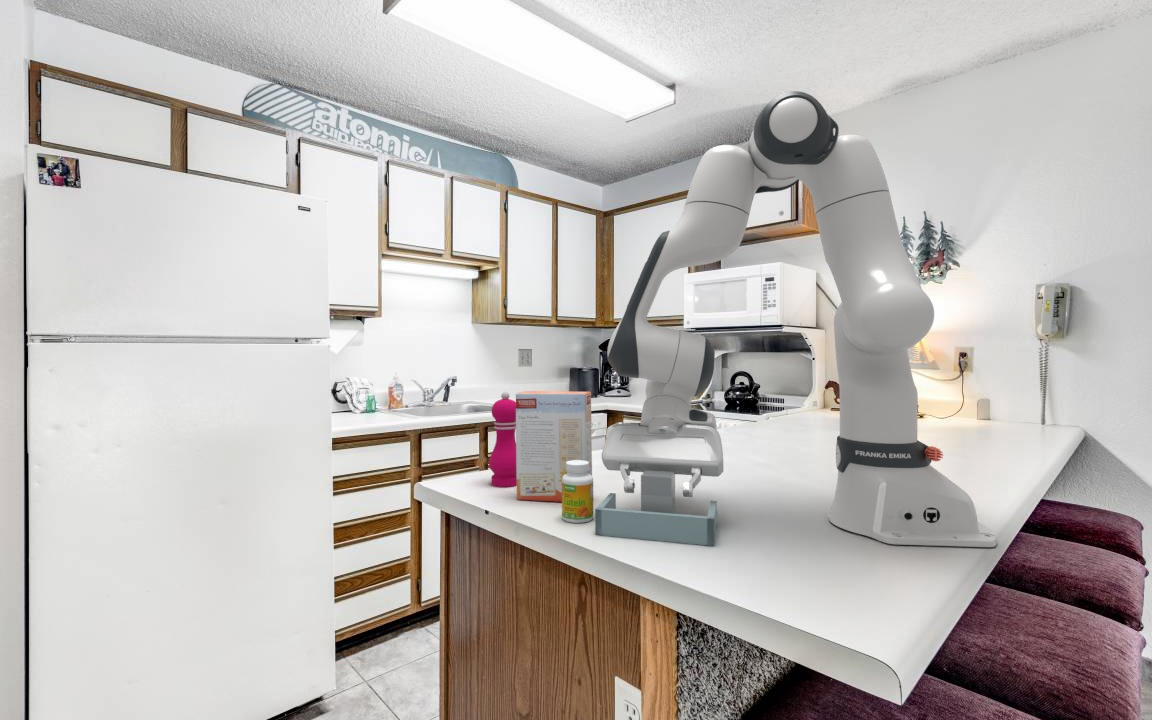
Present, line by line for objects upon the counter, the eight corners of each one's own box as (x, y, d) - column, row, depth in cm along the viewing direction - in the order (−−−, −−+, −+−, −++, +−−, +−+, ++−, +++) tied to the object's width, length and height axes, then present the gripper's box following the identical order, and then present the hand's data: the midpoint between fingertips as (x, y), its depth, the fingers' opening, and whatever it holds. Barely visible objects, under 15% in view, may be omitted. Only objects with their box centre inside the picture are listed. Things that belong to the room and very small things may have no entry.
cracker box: (593, 496, 106) (592, 390, 106) (586, 504, 101) (586, 393, 100) (525, 492, 110) (524, 389, 109) (515, 500, 104) (514, 392, 103)
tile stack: (675, 525, 88) (675, 471, 88) (671, 535, 84) (671, 477, 84) (646, 523, 90) (646, 469, 90) (641, 532, 85) (640, 475, 85)
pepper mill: (520, 488, 113) (519, 393, 113) (486, 487, 113) (485, 393, 113) (524, 479, 120) (523, 390, 120) (492, 479, 121) (491, 390, 120)
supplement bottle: (559, 522, 90) (558, 465, 90) (565, 513, 95) (564, 458, 95) (591, 524, 89) (590, 466, 89) (595, 514, 94) (595, 459, 94)
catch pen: (716, 525, 88) (716, 500, 88) (714, 546, 79) (714, 519, 79) (610, 515, 94) (610, 492, 94) (595, 534, 84) (595, 509, 84)
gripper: (605, 411, 96) (591, 478, 87) (723, 414, 90) (722, 487, 81) (611, 432, 101) (598, 498, 91) (724, 437, 95) (723, 508, 85)
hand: (657, 493), depth 86 cm, fingers open, 8 cm apart
